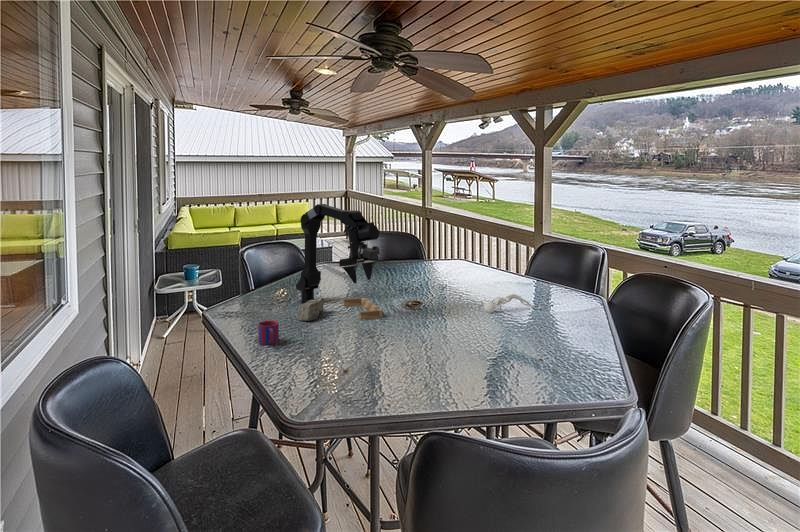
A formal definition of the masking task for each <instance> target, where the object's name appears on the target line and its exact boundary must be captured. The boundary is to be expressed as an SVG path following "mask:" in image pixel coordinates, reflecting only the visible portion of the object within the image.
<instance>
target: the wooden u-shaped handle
mask: <svg viewBox="0 0 800 532" xmlns="http://www.w3.org/2000/svg"><path fill="white" fill-rule="evenodd" d="M355 305H358V306H362V307H363V306H364V307H363V308H364V309H366V308H367V309H366V310H363V311H359V312H358V313H359V314H358V318H359V319H358V320H360V321H364V320H363V319H366V320H374V319H373V318H376V319H380V318H383V309H381V308H380V307H379V306H377V305H375V304H374V303H373V302H371V301H369V300H368V299H367V298H365V297H353V298H342V306H343V307H345V306H347V307H354V306H355ZM355 307H356V306H355ZM379 317H380V318H379Z"/></svg>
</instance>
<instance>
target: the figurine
mask: <svg viewBox="0 0 800 532" xmlns="http://www.w3.org/2000/svg"><path fill="white" fill-rule="evenodd" d="M513 299H515V300H519V302H520V304H523V305H524V306H525V305H528V306H529V307H531V308H532V309H534V310H540V309H541V305H539V306H538V307H534V306H533V305H531V304H530V303H529V301H528V300H526V299H525V298H524V297H522V296H520V295H518V294H510V295H509V294H508V295H507V296H503V297H501V296H498V295H497V296H496V297H495V298H494V299H492V300H491V301H488V302H486V303H484V305H483V311H484V312H485V313H487V314H492V312H493V313H494V312H495V310H496V306H498V310H500V311H501V312H503V309H502V305H505V304H507V303H510V302H511V301H512V300H513Z"/></svg>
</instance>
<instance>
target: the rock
mask: <svg viewBox="0 0 800 532" xmlns="http://www.w3.org/2000/svg"><path fill="white" fill-rule="evenodd" d="M324 305H325V299H324V297H320V298H319V299H314V300H309V301H307V302H306V303H304V304H301V303H300V305H299V306H298V309H297V310H298V312H297V314H296V318H297V320H299V321H306V322H307V321H308V322H309V321H313V320H317V319H318V318H319V315H320V314H321V313H322V312H323V311H324V309H325V308H324Z"/></svg>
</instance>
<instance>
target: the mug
mask: <svg viewBox="0 0 800 532" xmlns="http://www.w3.org/2000/svg"><path fill="white" fill-rule="evenodd" d="M279 328H280V327H279V321H277V320H262V321H260V322H258V323H257V330H258V331H257V337H258V338H257V339H258V344H259V345H260V346H264V345H270V346H274V344H275V345H277V344H279V342H280V335H279Z"/></svg>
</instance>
